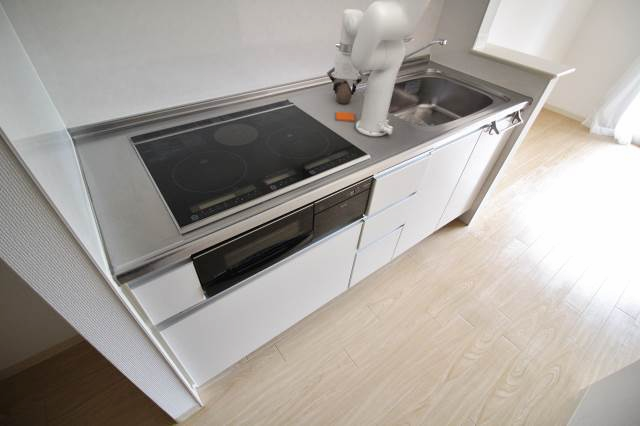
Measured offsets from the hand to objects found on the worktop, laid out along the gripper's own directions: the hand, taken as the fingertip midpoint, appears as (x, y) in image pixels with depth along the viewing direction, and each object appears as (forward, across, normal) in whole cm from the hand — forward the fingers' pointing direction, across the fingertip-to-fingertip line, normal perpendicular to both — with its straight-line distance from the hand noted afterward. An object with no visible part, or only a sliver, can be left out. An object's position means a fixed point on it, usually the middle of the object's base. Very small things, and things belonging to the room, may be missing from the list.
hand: (344, 92), depth 125 cm
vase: (+4, 0, 0) cm, 4 cm away
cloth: (+4, +1, -15) cm, 15 cm away
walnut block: (+4, -1, +15) cm, 15 cm away
